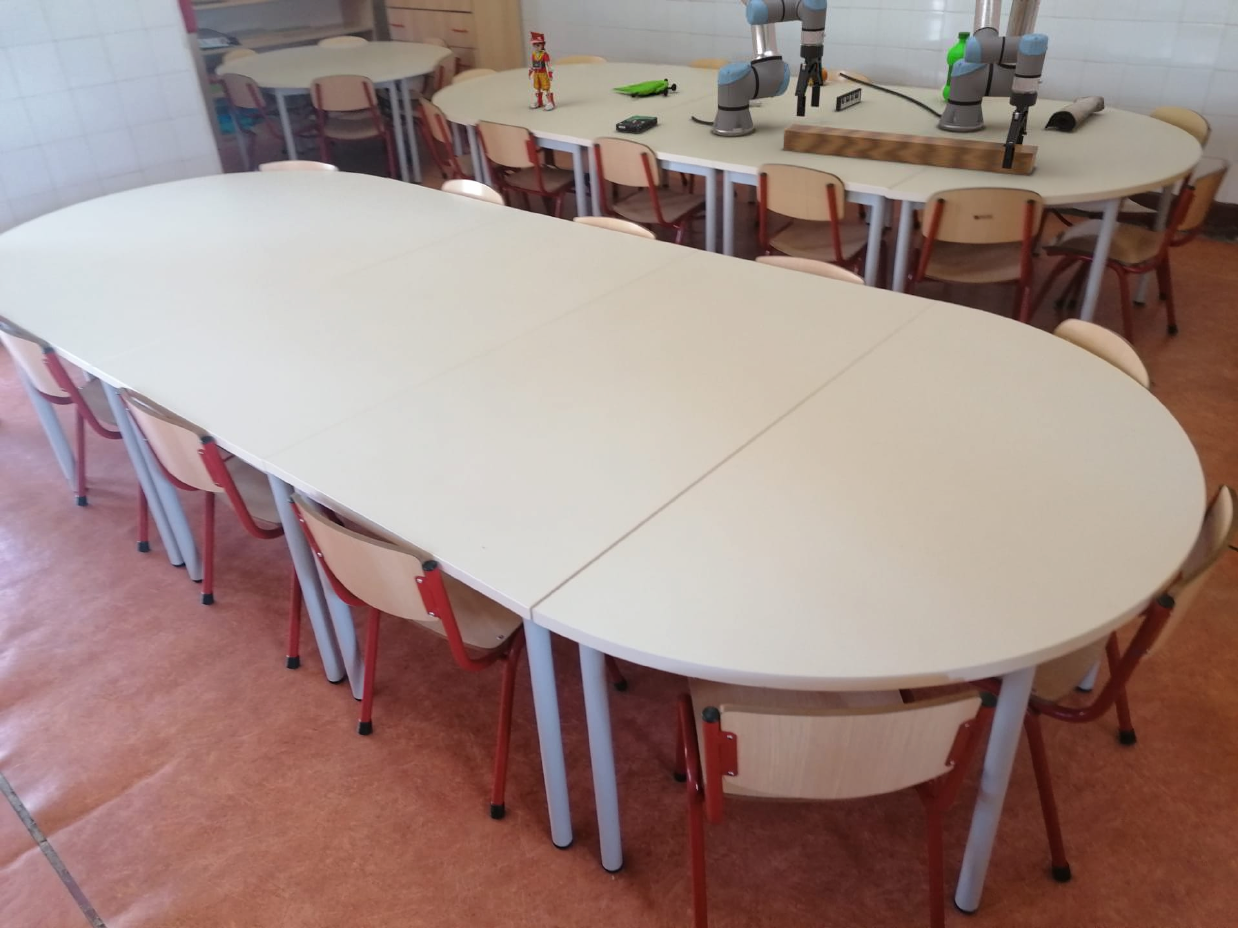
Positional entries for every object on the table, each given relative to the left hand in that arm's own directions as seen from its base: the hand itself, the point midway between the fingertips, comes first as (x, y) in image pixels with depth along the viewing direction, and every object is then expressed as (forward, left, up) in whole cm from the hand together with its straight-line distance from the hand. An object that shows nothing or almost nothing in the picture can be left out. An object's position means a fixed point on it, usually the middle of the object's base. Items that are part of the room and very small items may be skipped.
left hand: (807, 111), depth 307 cm
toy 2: (-98, +57, -12) cm, 115 cm away
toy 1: (-126, +20, -12) cm, 128 cm away
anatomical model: (-46, +53, -12) cm, 71 cm away
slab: (+34, 0, -12) cm, 36 cm away
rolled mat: (+78, +64, -12) cm, 101 cm away
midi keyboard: (-5, +61, -12) cm, 62 cm away
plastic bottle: (+32, +79, -12) cm, 86 cm away
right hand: (+68, 0, -10) cm, 69 cm away
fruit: (-30, +93, -12) cm, 98 cm away
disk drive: (-70, +4, -12) cm, 71 cm away
